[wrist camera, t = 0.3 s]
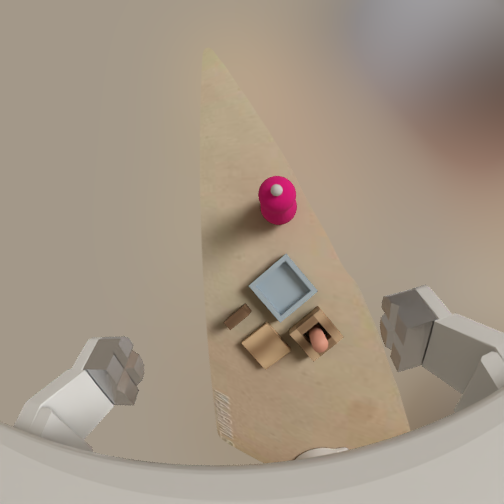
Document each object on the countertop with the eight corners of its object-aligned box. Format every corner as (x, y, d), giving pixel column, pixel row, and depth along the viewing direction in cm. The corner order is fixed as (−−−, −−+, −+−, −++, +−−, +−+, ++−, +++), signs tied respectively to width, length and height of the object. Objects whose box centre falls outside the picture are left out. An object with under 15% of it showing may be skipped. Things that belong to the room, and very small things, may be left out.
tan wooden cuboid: (290, 347, 61) (290, 350, 58) (266, 365, 61) (265, 369, 59) (267, 320, 62) (266, 323, 59) (243, 339, 62) (241, 343, 60)
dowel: (324, 331, 60) (331, 345, 50) (313, 340, 60) (318, 355, 50) (316, 321, 60) (321, 334, 50) (305, 330, 60) (309, 344, 50)
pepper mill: (259, 223, 61) (247, 209, 42) (265, 190, 61) (256, 162, 41) (292, 229, 61) (297, 217, 41) (298, 196, 61) (304, 169, 41)
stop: (251, 310, 61) (248, 315, 56) (234, 324, 62) (230, 330, 57) (245, 303, 62) (242, 307, 57) (228, 317, 62) (223, 322, 57)
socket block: (340, 332, 59) (343, 337, 55) (311, 355, 60) (313, 361, 56) (317, 305, 60) (320, 309, 56) (289, 329, 60) (289, 334, 57)
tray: (316, 289, 60) (317, 291, 57) (280, 319, 61) (280, 322, 58) (285, 253, 61) (286, 253, 58) (250, 284, 62) (248, 285, 59)
